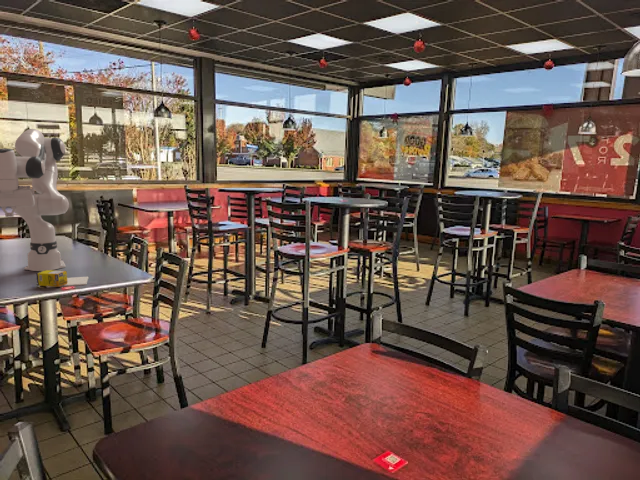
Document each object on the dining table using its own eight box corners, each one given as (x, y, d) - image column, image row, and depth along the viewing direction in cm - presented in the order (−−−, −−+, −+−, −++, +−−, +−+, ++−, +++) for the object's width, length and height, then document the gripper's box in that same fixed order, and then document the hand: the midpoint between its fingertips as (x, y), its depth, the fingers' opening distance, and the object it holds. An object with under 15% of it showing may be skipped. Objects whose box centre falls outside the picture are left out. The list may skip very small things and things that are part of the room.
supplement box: (37, 285, 212) (59, 287, 211) (35, 272, 211) (57, 274, 210) (46, 282, 218) (68, 283, 217) (45, 269, 217) (66, 270, 216)
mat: (51, 280, 224) (51, 278, 224) (88, 277, 230) (88, 276, 230) (46, 287, 211) (46, 286, 211) (86, 284, 217) (86, 283, 217)
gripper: (35, 185, 215) (37, 215, 218) (-19, 185, 208) (-16, 216, 210) (32, 186, 210) (35, 216, 212) (-23, 186, 202) (-20, 218, 204)
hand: (9, 216), depth 211 cm, fingers closed
